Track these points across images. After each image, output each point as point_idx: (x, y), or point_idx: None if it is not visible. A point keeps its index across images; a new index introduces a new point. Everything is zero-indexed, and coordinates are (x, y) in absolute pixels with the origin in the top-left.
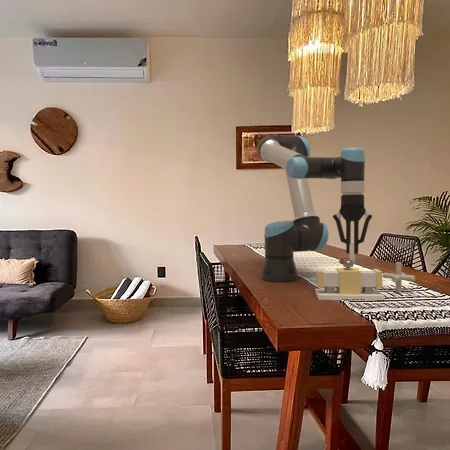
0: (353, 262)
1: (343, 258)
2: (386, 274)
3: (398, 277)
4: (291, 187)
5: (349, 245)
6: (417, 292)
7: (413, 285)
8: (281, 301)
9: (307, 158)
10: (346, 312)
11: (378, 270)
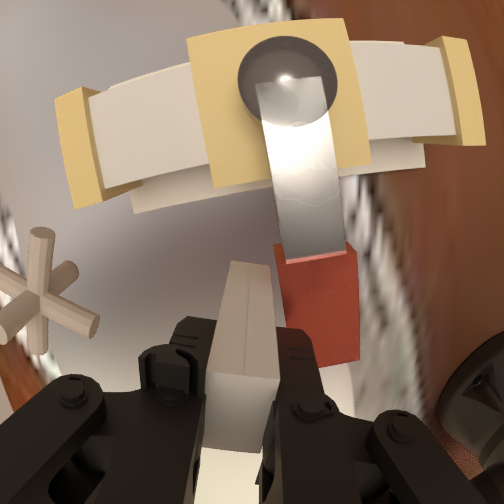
0: (235, 265)
1: (332, 253)
2: (76, 315)
3: (28, 257)
4: None
5: (278, 389)
6: (23, 271)
7: (50, 368)
8: (495, 36)
9: None
10: None
11: (69, 145)
